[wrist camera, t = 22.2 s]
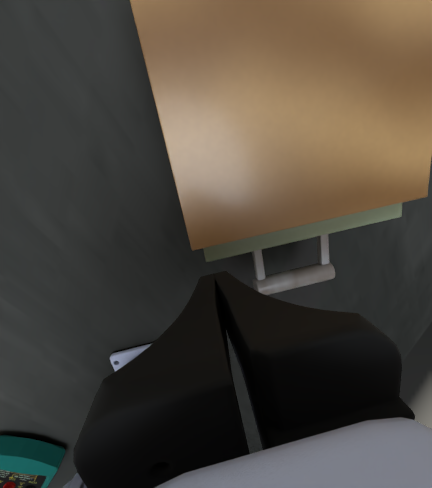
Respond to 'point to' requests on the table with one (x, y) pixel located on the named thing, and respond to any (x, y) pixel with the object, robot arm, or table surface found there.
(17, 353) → the table surface
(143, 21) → the cabinet
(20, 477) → the digital multimeter
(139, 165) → the table surface
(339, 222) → the drawer
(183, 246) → the table surface
